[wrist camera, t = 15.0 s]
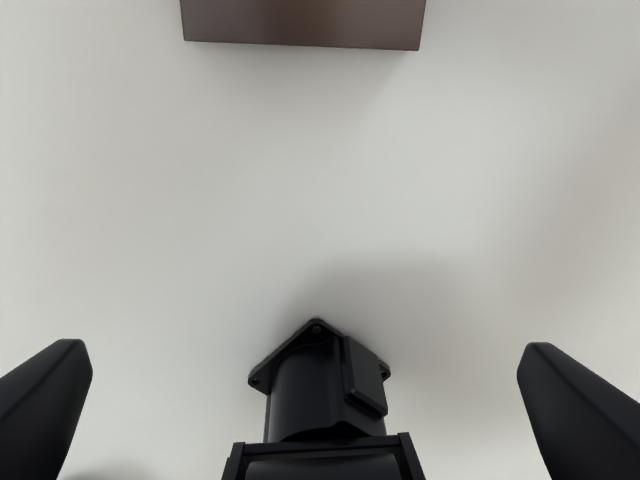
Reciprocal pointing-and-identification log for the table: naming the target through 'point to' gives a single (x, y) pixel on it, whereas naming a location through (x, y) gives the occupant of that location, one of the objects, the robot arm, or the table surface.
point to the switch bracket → (306, 22)
